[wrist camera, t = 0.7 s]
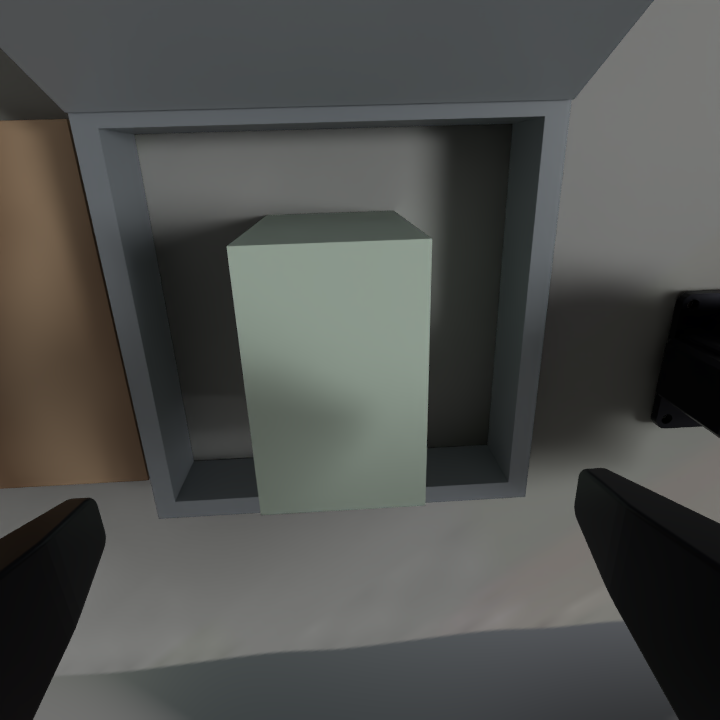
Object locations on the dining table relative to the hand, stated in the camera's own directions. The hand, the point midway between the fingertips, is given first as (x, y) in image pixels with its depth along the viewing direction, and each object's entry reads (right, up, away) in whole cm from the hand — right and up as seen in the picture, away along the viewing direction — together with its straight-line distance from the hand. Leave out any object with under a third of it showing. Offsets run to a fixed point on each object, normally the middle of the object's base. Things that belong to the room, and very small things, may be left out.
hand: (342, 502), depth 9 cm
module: (-1, +5, +12) cm, 13 cm away
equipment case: (-1, +8, +10) cm, 13 cm away
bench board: (-15, +4, +11) cm, 19 cm away
